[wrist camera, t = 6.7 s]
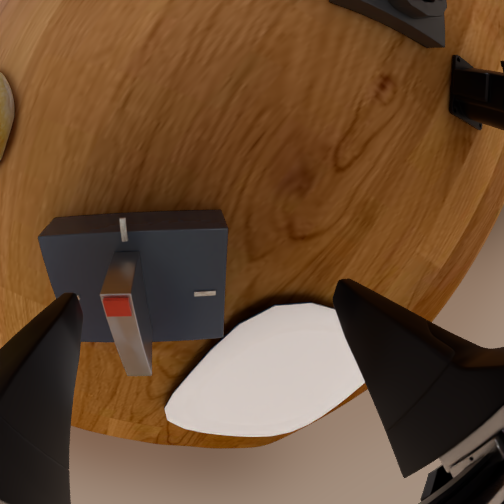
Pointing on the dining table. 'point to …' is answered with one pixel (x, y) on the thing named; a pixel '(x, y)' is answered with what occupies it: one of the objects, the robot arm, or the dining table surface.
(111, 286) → the tap handle
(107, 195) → the dining table surface
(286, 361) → the plate
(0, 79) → the bread roll
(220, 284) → the panel
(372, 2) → the button box
